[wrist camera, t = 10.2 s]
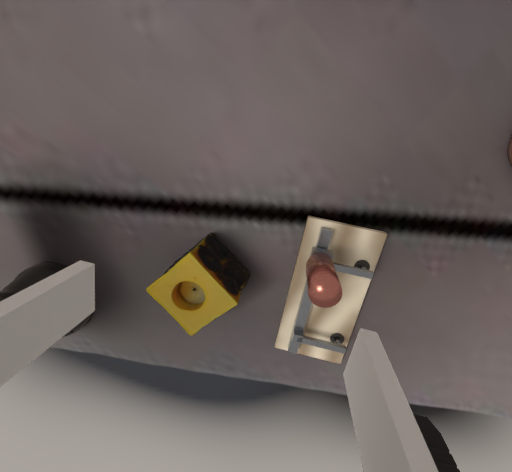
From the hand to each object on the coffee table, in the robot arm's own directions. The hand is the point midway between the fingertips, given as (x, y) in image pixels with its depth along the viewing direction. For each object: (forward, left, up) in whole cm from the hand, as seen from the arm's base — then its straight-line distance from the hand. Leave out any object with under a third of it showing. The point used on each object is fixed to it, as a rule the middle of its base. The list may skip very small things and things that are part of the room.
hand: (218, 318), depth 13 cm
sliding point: (+12, -7, -30) cm, 33 cm away
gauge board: (+12, -14, -32) cm, 36 cm away
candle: (-8, -14, -32) cm, 36 cm away
